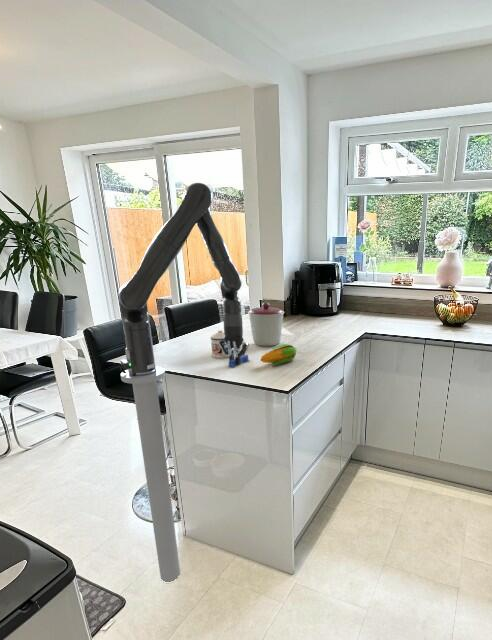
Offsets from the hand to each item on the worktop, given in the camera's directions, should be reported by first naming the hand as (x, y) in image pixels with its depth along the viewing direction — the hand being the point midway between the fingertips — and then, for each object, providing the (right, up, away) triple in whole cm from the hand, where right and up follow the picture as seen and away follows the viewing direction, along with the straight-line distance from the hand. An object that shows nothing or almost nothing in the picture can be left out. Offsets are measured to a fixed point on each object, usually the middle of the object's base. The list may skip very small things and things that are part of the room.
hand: (235, 364), depth 167 cm
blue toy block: (+1, +1, +3) cm, 3 cm away
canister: (+10, +12, +35) cm, 39 cm away
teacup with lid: (-7, +4, +13) cm, 16 cm away
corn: (+18, +1, +3) cm, 19 cm away
